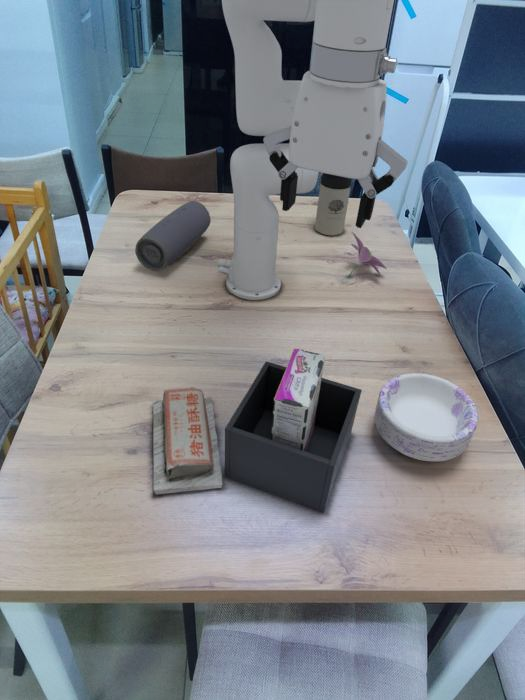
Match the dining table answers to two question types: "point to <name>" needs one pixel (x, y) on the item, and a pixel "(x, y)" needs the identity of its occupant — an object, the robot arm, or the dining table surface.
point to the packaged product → (185, 443)
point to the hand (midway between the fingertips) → (324, 215)
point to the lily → (366, 256)
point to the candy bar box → (298, 400)
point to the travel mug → (332, 204)
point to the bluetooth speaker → (172, 236)
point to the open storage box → (282, 460)
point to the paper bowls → (425, 417)
